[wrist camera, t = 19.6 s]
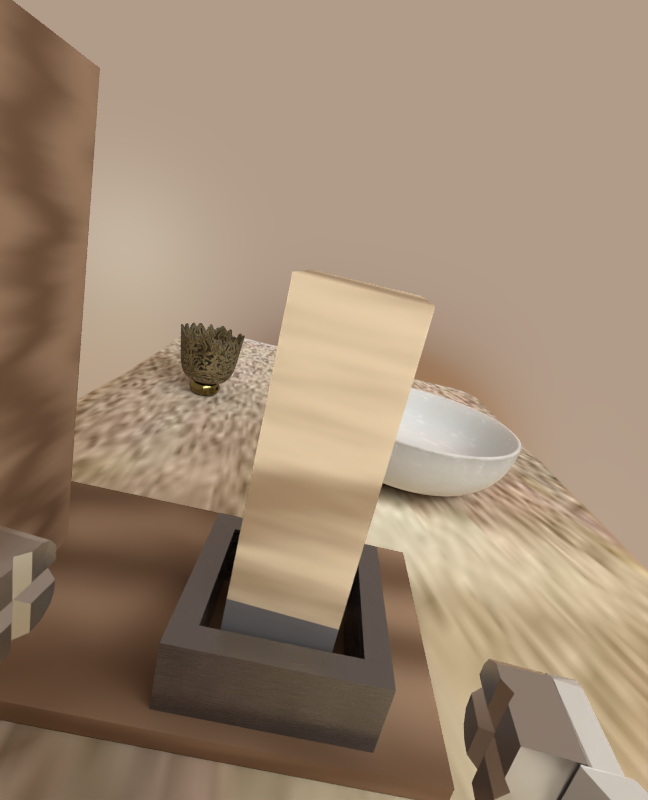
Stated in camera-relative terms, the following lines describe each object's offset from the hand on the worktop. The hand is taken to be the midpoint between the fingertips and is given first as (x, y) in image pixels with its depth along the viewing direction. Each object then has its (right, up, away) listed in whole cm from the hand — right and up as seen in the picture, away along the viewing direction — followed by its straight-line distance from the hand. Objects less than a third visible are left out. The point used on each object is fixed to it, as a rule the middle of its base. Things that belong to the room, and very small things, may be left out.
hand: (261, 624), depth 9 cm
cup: (-14, +5, +50) cm, 52 cm away
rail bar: (-1, -8, +15) cm, 17 cm away
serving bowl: (+9, -3, +41) cm, 43 cm away
